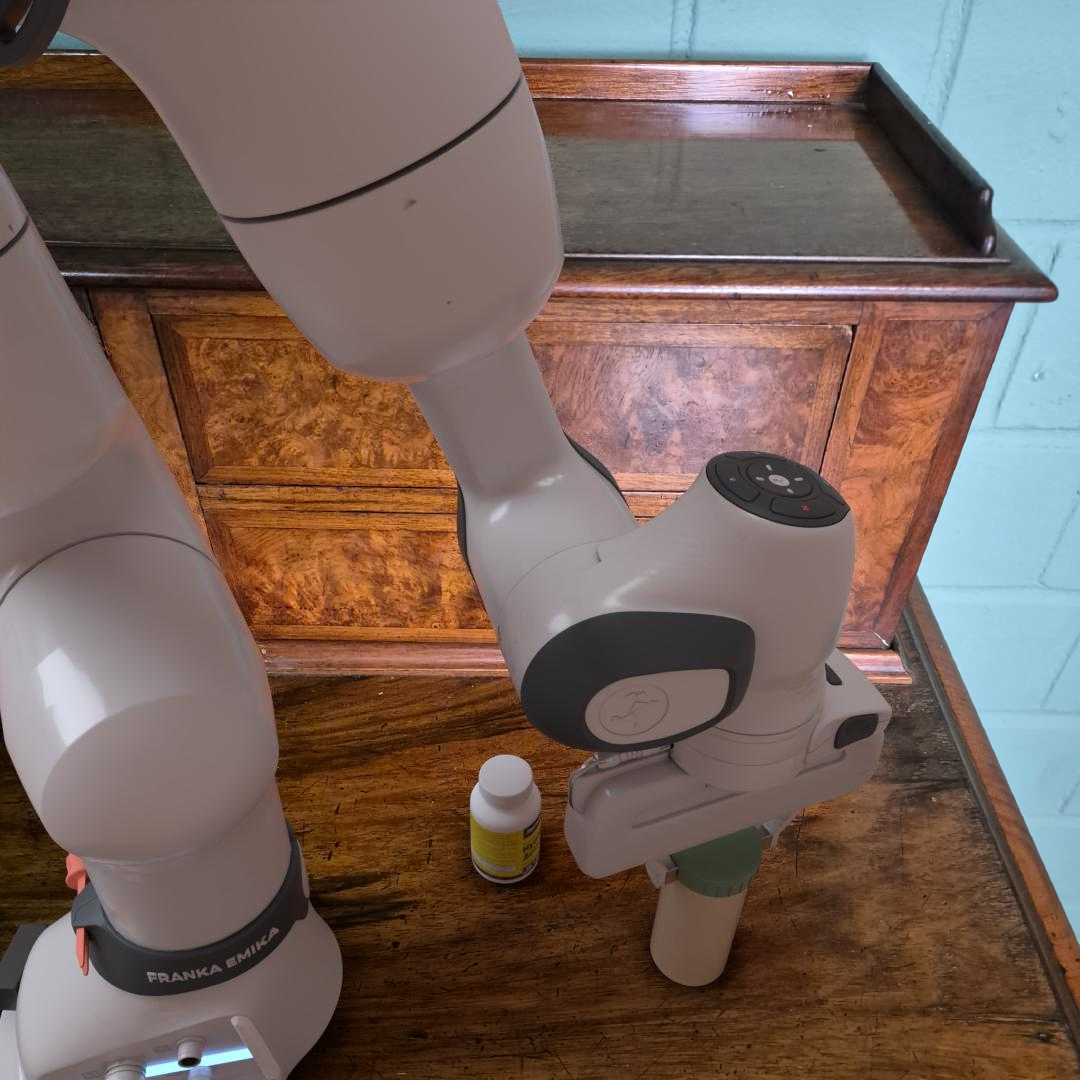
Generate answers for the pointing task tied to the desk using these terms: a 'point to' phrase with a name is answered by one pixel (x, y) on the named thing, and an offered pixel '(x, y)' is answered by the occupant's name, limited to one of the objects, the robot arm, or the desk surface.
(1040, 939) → the desk surface
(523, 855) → the supplement bottle
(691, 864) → the jar lid
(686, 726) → the robot arm
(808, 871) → the desk surface
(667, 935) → the jar
